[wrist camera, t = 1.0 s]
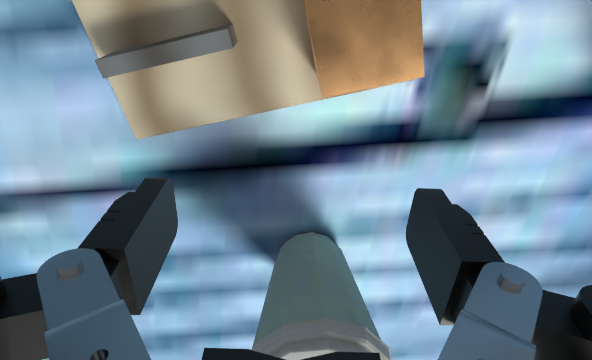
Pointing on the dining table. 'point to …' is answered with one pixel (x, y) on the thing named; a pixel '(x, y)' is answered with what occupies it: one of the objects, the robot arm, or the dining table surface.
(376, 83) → the cardboard box
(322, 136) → the dining table surface
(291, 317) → the disposable coffee cup
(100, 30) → the board
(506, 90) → the dining table surface
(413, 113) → the dining table surface
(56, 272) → the robot arm
